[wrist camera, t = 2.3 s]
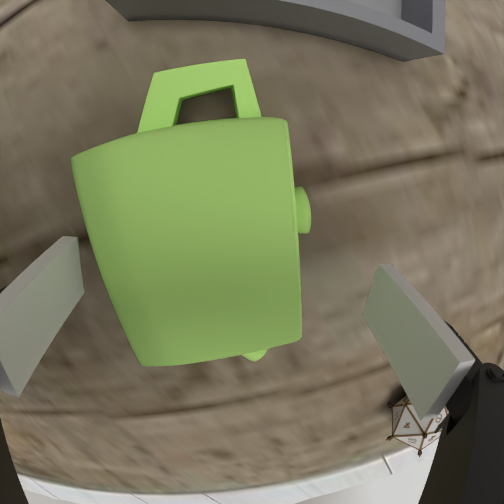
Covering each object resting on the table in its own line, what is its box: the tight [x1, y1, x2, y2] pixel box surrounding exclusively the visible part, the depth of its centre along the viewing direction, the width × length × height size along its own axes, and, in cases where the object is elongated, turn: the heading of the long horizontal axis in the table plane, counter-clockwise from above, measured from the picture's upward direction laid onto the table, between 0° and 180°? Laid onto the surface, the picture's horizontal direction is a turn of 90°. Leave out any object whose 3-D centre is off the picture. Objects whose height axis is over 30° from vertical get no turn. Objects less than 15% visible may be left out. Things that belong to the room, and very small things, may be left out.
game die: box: [386, 395, 449, 457], centre depth 28 cm, size 9×8×10 cm
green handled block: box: [71, 59, 311, 366], centre depth 17 cm, size 18×10×10 cm, turn 7°
